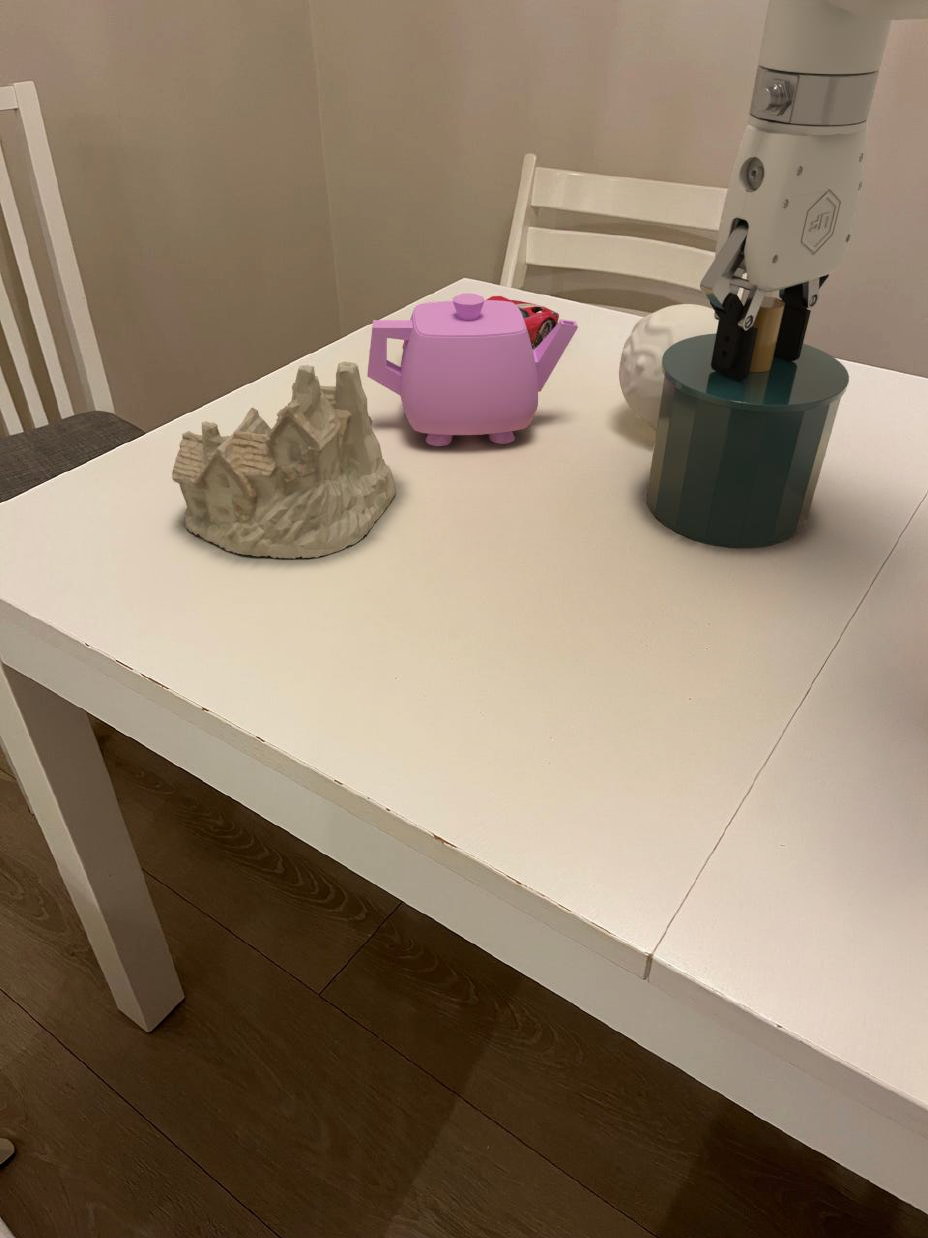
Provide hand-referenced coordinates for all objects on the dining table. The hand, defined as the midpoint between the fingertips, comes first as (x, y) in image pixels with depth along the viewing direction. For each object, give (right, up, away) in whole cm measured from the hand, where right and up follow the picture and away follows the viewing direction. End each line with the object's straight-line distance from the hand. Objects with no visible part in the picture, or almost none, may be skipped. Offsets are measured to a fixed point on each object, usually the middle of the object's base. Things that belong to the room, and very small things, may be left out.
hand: (755, 362), depth 70 cm
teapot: (-22, -1, +20) cm, 30 cm away
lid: (0, -1, +1) cm, 1 cm away
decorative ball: (-2, -1, +20) cm, 20 cm away
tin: (0, -10, +8) cm, 13 cm away
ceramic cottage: (-37, -11, +8) cm, 40 cm away
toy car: (-20, +11, +36) cm, 42 cm away
